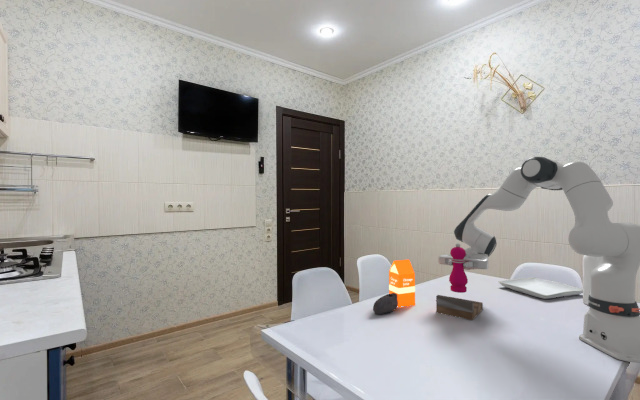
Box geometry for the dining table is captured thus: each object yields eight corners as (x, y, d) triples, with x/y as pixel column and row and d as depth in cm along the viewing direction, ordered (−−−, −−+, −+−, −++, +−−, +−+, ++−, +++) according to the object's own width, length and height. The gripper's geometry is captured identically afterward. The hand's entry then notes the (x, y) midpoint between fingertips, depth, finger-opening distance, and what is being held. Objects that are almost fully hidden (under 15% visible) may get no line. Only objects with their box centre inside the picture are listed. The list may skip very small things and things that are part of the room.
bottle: (578, 301, 148) (577, 236, 148) (594, 301, 149) (593, 236, 149) (593, 307, 140) (592, 238, 140) (611, 307, 141) (610, 238, 141)
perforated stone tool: (378, 318, 130) (378, 300, 130) (368, 314, 134) (368, 297, 134) (401, 310, 139) (401, 293, 139) (392, 307, 143) (391, 291, 143)
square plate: (497, 287, 175) (496, 280, 175) (535, 283, 183) (535, 276, 183) (545, 302, 149) (545, 294, 149) (587, 296, 157) (587, 288, 157)
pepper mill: (464, 288, 139) (463, 242, 139) (470, 293, 132) (470, 244, 132) (447, 288, 140) (446, 242, 140) (452, 293, 133) (451, 244, 133)
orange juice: (415, 305, 145) (414, 260, 145) (399, 307, 142) (398, 262, 142) (404, 300, 152) (404, 258, 153) (388, 302, 149) (388, 259, 149)
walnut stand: (449, 303, 148) (449, 287, 148) (482, 309, 139) (482, 293, 139) (436, 312, 135) (436, 295, 135) (472, 320, 126) (472, 302, 126)
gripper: (443, 250, 153) (432, 254, 142) (491, 254, 139) (483, 259, 129) (444, 263, 153) (433, 268, 142) (492, 269, 139) (483, 275, 129)
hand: (457, 264), depth 135 cm, fingers closed on pepper mill, 5 cm apart
